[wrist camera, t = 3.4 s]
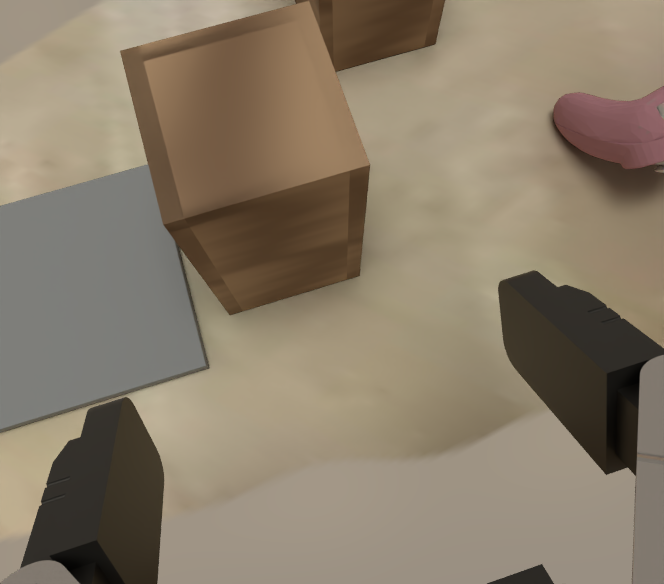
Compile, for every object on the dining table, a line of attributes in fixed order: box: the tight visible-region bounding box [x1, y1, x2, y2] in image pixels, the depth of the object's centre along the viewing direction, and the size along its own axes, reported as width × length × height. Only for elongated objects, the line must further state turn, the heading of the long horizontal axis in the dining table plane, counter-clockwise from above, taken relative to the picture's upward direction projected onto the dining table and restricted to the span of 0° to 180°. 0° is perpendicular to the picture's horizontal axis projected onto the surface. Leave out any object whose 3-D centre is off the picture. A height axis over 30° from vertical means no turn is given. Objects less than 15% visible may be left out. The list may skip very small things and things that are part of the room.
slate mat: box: [0, 165, 209, 433], centre depth 26 cm, size 10×10×1 cm
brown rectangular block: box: [120, 1, 370, 315], centre depth 22 cm, size 6×6×10 cm
